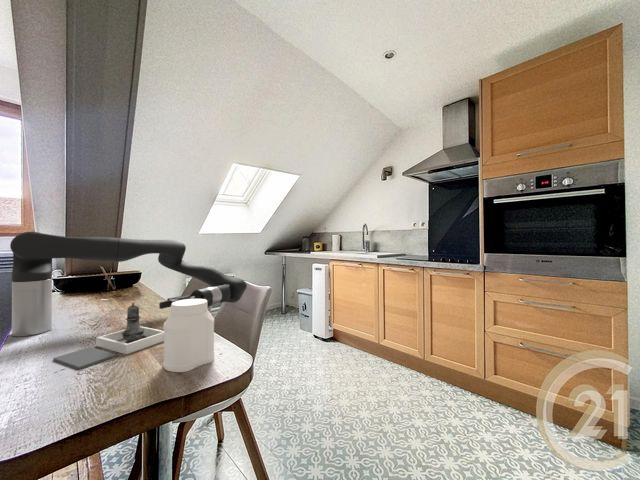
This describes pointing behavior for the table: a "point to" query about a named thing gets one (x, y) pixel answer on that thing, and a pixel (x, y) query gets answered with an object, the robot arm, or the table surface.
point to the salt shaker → (132, 325)
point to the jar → (188, 336)
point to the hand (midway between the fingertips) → (168, 307)
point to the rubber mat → (84, 357)
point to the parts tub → (113, 344)
